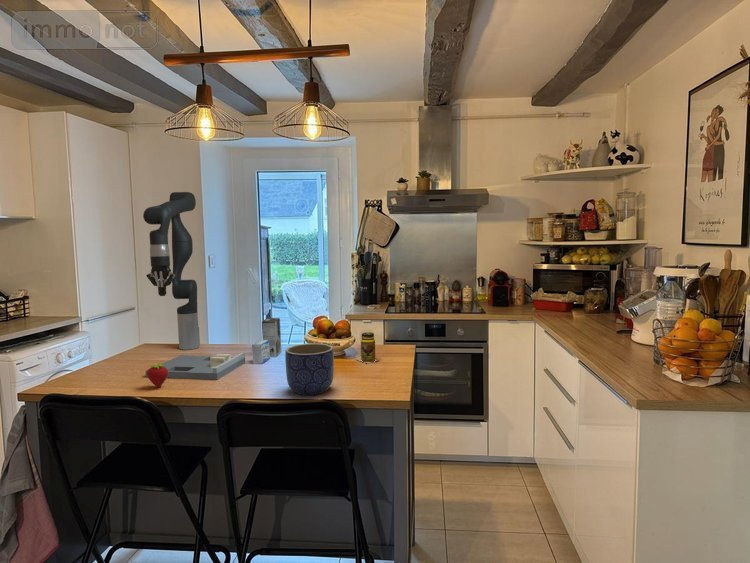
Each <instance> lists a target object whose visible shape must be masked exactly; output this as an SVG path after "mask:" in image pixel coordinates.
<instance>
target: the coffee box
mask: <svg viewBox="0 0 750 563" xmlns="http://www.w3.org/2000/svg"><path fill="white" fill-rule="evenodd" d="M261 330H262V331H261V335H262V340H269V351H270V358H277V357H278V356H279V355H280V354H281V353H282V339H281V337H282V336H281V334H282V332H281V318H279V317H267V318H265V319H264V320H262V321H261Z"/></svg>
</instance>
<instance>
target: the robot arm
mask: <svg viewBox="0 0 750 563" xmlns="http://www.w3.org/2000/svg"><path fill="white" fill-rule="evenodd" d="M196 202H197V200H196V197H195V194H193V193H192V192H189V191H175V192H171V193H170V195H169V200H168V201H165V202H163V203H161V204H159V205H154V206H153V205H152V206H150V207H147V208H145V210H144V212H143V214H142V217H143V220H144V222H146V223H147V224H148V225H151V226H152V225H159V228H157V229H153V230H151V231H150V232H149V257H150V258H149V259H150V260H149V261H150V267H151V270H150V272H149V273H148V274H146V278H147V279H148V280H149V282H150V283H151V284H152V286H154V287H157V291H158V293H157V294H158V296H159V297H166V295H167V287H168V286H170V285H171V293H172V297H173V298H174V299H175V300H188V302H187V303H185V304H183V305H180V306H178V307H177V308H176V316H177V334H178V347H179V348H178V349H179V350H182V349H183V350H184V351H186V350H188V351H189V350H194V349H198V348H200V346H201V341H200V326H199V317H198V283H197V281H196V280H195V279H182V273H183V270H184V268H185V266H186V265H187V263H188V261H189V260H190V259H191V256H192V254H193V251H194V250H193V248H194V247H193V245H194V244H193V238H192V236H191V234H190V232H189V231H188V230H187V228H186V227H185V225H184V224H183V221H182V218H181V215H180V214H182V213H186V212H191V211H193V210H194V209H195V208H196ZM170 225H171V250H172V251H171V254H172V269H171V267H170V266H171V257H170V256H171V255H170V247H169V236H168V235H169V231H170V230H169V229H170Z"/></svg>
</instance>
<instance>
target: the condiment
mask: <svg viewBox="0 0 750 563" xmlns="http://www.w3.org/2000/svg"><path fill="white" fill-rule="evenodd" d="M360 356H361V358H360V359H361V360H362V361H363V362H373V363H375V362H374V361H375V359H376V340H375V334H374V332H362V333H361V339H360Z"/></svg>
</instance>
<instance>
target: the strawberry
mask: <svg viewBox="0 0 750 563" xmlns="http://www.w3.org/2000/svg"><path fill="white" fill-rule="evenodd" d="M159 363H160V360H158V362H157V364H153V365H151V366H150V368H148V369H149V370H148V369H147V370H148V371H147V376H148V377H147V378H148V380H149V381H150V382H151V383H152V384H153V386H154V387H156V388H157V387H159V388H161V386H163V384H164V383H165V381H166V380H167V379H168V378H167V376H168V369H167V368H165V367H163V366H165V365H163V364H162V363H160V364H159ZM158 365H159V366H158Z"/></svg>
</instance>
